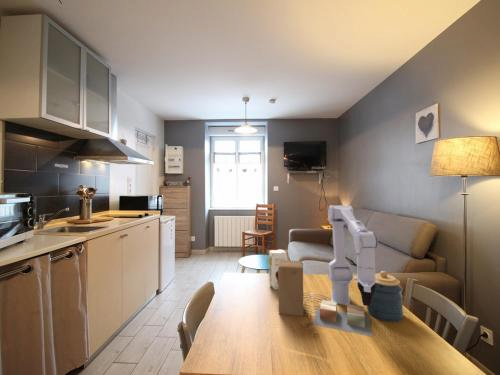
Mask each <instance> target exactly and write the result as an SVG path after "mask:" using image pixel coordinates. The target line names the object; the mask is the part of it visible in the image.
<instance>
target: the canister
mask: <svg viewBox="0 0 500 375" xmlns="http://www.w3.org/2000/svg"><path fill="white" fill-rule="evenodd" d="M375 280H376V283H375V288H376V289H375V291H374V293H373V295H372V299H371V304H370V306H366V309H367V313H368V314H369V315H370V316H372V318H375V319H377V320H380V321H384V322H387V323H388V322H389V323H390V322H391V323H397V322H401V321H402V320H403V318H404V309H403V304H404V303H403V300H404V297H403V295H402V292H403V287H402V286H401V285H400V284H401V281H400V280H399V279H398V278H396V277H395V276H393V275H391V274H388V273H387V271H385V270H381V271H380V272H379V273H376V272H375Z"/></svg>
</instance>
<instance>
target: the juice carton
mask: <svg viewBox="0 0 500 375" xmlns="http://www.w3.org/2000/svg"><path fill="white" fill-rule="evenodd" d="M268 252H269V254H268V283H269V286H270V287H271V288H272V289H273V290H274V291H276V290H277V291H278V267H279V263H280V261H281V260H288V254H287V251H285V250H283V249H280V248H279V249H276V250H275V249H271V250H269V251H268Z"/></svg>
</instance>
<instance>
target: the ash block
mask: <svg viewBox="0 0 500 375" xmlns="http://www.w3.org/2000/svg"><path fill="white" fill-rule="evenodd" d="M320 302H321V303H320V307H319V308H320V319H324V320H329V321H334V322H336V316H337V311H338V304H337V302H332V301H331V300H324V299H321V301H320Z"/></svg>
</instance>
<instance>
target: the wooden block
mask: <svg viewBox="0 0 500 375" xmlns="http://www.w3.org/2000/svg"><path fill="white" fill-rule="evenodd" d="M277 291H278V295H277V296H278V314H279V315H284V316H290V317H291V316H292V317H303V316H304V263H303V261H301V260H288V259H287V260H281V261H280V263H279V267H278V290H277Z"/></svg>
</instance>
